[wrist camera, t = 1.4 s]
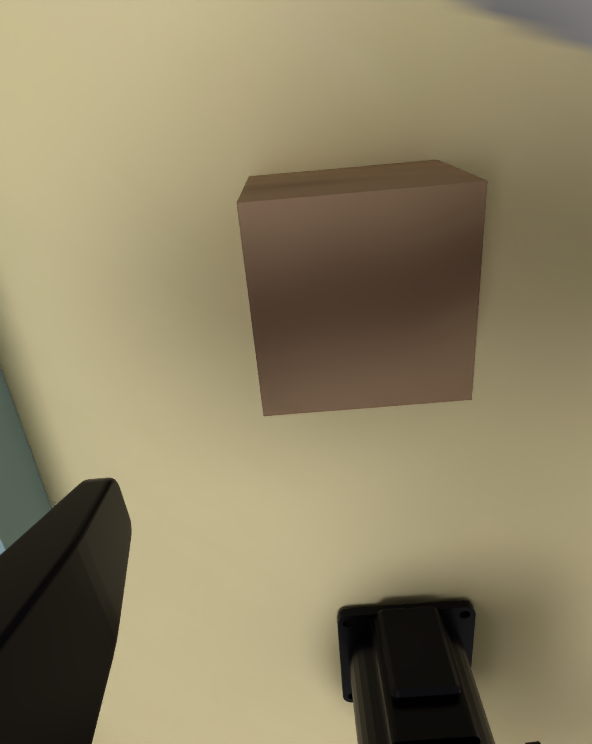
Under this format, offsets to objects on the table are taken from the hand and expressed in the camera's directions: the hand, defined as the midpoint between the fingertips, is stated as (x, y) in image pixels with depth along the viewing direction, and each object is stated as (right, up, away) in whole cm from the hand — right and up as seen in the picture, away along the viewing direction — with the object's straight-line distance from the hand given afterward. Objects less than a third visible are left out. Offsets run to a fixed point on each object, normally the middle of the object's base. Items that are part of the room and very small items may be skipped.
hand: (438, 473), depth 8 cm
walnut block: (0, +5, +11) cm, 12 cm away
